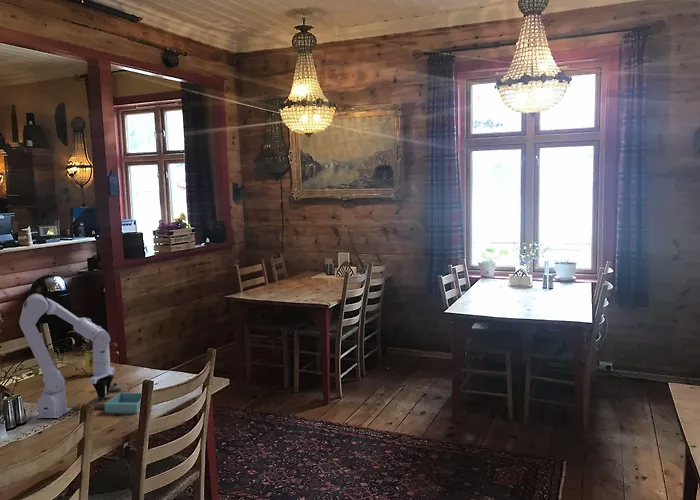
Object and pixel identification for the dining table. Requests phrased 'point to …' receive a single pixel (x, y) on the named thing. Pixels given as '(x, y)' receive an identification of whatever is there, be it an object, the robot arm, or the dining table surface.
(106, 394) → the lock pin
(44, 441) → the dining table surface
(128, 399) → the tray
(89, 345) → the sauce bottle
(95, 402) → the tensioner bracket
